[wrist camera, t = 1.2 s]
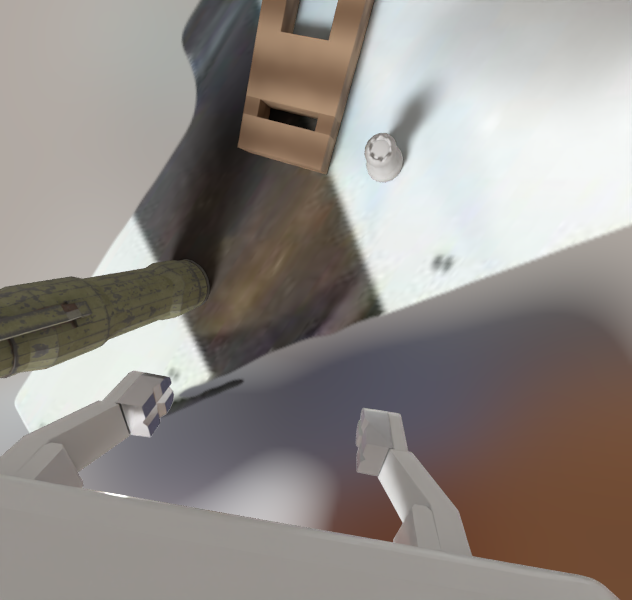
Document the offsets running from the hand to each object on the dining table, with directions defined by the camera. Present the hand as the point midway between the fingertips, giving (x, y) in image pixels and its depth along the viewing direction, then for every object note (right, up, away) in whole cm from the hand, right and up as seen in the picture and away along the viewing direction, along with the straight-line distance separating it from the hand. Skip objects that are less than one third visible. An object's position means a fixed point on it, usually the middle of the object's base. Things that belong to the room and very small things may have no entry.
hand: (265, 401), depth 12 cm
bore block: (+1, +33, +24) cm, 41 cm away
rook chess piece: (+11, +21, +24) cm, 34 cm away
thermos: (-20, +7, +37) cm, 43 cm away
